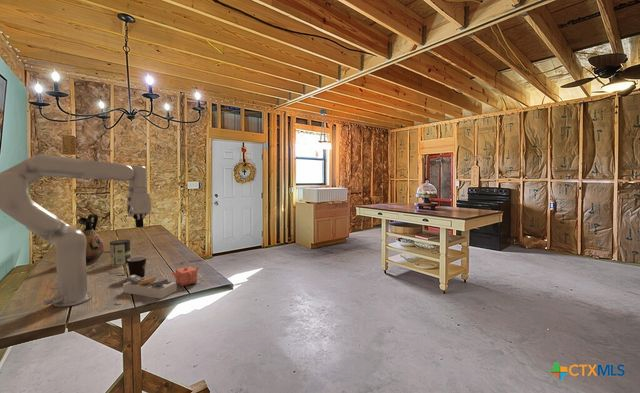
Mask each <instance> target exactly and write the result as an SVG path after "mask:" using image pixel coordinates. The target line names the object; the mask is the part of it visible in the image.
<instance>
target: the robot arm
mask: <svg viewBox="0 0 640 393" xmlns="http://www.w3.org/2000/svg"><path fill="white" fill-rule="evenodd" d="M147 173H148V172H147V167H146V166H143V165H128V164H123V163H116V162H107V161H97V160H93V159H92V160H91V159H85V158H84V159H83V158H74V157H68V156H67V157H66V156H59V155H58V156H57V155H52V154H51V155H50V154H37V155H33V156H31V157H29V158H27V159H25V160H23V161H21V162H19V163H18V164H17V163H16V164H15V165H13V166H12V167H9V168H7V169H5V170H4V171H1V172H0V211H1V212H3V213H4V214H5V215H7V216H9V217H10V218H12V219H13V220H15V221H16V222H18V223H20V224H21V225H23V226H24V227H26V228H25V229H27V230H28V231H30V232H31V233H33V234H34V235H36V236H37V237H39V238H41V239H43V240H45V241H46V242H48V243H50V244H51V245H53V246H55V248H56V250H55V251H56V252H55V253H56V255H55V268H56V282H57V293H55V294H54V296H52V298H48V299H45V300H43V305H44V306H48V305H50V304H52V305H53V306H54V307H57V308H65V307H73V306H77V305H80V304H83V303H86V302H87V301H89V300H91V299H92V298H93V293H91V292H88V279H87V278H88V277H87V264H86V243H87V241H86V236H85V235H84V233H83V231H82V230H80V229H78V228H75V227H73V226H71V225H70V224H68V223H66V222H65V221H63V220H62V219H61V218H59V217H58V215H57V214H55V213H54V212H51V211H49V210H47V209H46V208H45V207H43V206H41V205H40V204H38V202H36V201H35V200H33V199H31V197H29V195H28V194H27V189H28V187H29V186H30V185H31V184H34V182H37V181H39V180H40V179H42V178H43V177H51V178H52V177H55V178H67V179H69V178H71V179H78V180H79V179H82V180H111V181H117V182H119V181H122V182H127V181H128V187H129V188H127V190H126V191H127V192H128V195H127V199H126V212H127V216H128V217H131V218H133V219H134V220H135V223H134V224H135V228H144V219H145V217H146V216H147V215H150V213H151V211H152V203H151V202H152V201H151V197H150V193H148V180H147V179H148V177H147V176H148V175H147Z"/></svg>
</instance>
